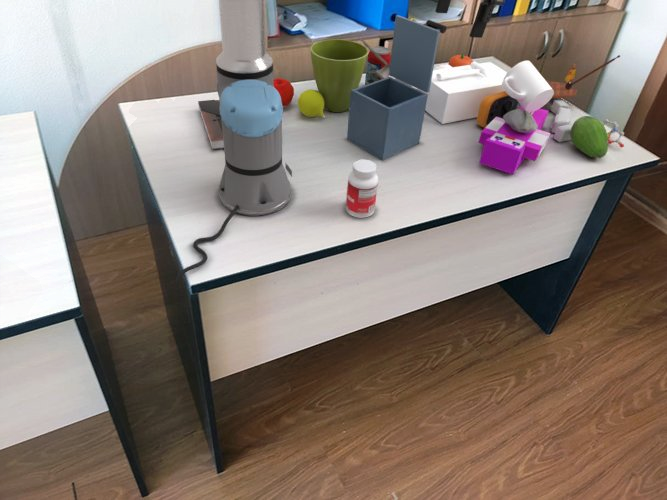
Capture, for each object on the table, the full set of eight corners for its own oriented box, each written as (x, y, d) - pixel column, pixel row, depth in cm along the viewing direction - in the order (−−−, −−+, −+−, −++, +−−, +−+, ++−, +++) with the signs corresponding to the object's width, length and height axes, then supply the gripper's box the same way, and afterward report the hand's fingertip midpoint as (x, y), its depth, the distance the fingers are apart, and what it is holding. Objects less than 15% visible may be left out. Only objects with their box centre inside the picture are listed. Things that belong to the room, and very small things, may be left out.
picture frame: (198, 109, 143) (212, 150, 128) (197, 100, 141) (211, 140, 126) (259, 103, 147) (279, 142, 132) (259, 95, 146) (279, 133, 131)
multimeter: (480, 96, 140) (490, 101, 138) (523, 82, 148) (533, 86, 146) (473, 126, 145) (482, 131, 143) (515, 110, 154) (525, 115, 152)
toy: (562, 114, 142) (533, 155, 121) (554, 135, 146) (525, 178, 125) (509, 99, 147) (473, 136, 126) (503, 119, 151) (467, 158, 130)
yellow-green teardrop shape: (317, 100, 148) (333, 124, 143) (293, 108, 146) (309, 133, 141) (317, 80, 141) (334, 105, 137) (293, 88, 140) (309, 113, 135)
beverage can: (360, 86, 160) (364, 46, 152) (380, 83, 162) (384, 44, 155) (370, 96, 156) (375, 55, 148) (390, 93, 158) (396, 52, 150)
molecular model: (593, 117, 139) (594, 143, 138) (626, 117, 138) (627, 143, 136) (584, 129, 146) (585, 155, 145) (615, 130, 145) (617, 155, 143)
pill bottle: (343, 201, 115) (347, 157, 108) (371, 201, 116) (377, 157, 108) (347, 219, 110) (351, 174, 103) (376, 218, 111) (382, 174, 104)
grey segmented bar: (553, 142, 141) (579, 146, 140) (558, 129, 138) (585, 133, 138) (544, 108, 156) (568, 112, 155) (549, 96, 153) (573, 100, 153)
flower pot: (313, 120, 142) (315, 60, 132) (304, 95, 153) (306, 39, 142) (367, 117, 145) (374, 59, 134) (355, 93, 156) (360, 38, 145)
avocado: (575, 111, 133) (599, 150, 129) (600, 107, 135) (624, 145, 131) (558, 131, 140) (580, 169, 136) (581, 127, 142) (604, 163, 138)
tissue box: (513, 110, 154) (524, 73, 146) (442, 123, 145) (450, 85, 137) (482, 89, 163) (491, 54, 156) (413, 101, 154) (420, 64, 147)
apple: (269, 113, 144) (268, 87, 139) (261, 100, 149) (261, 75, 144) (297, 110, 146) (297, 84, 141) (289, 98, 152) (289, 72, 147)
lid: (437, 31, 117) (461, 23, 122) (395, 15, 124) (419, 8, 129) (427, 92, 127) (449, 83, 131) (388, 75, 134) (411, 66, 138)
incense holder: (506, 79, 172) (511, 43, 166) (607, 87, 163) (617, 49, 157) (499, 94, 155) (506, 54, 149) (612, 104, 146) (623, 61, 140)
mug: (529, 90, 129) (506, 60, 133) (509, 114, 135) (487, 85, 139) (559, 88, 135) (536, 60, 139) (539, 111, 141) (517, 83, 145)
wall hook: (343, 47, 139) (353, 33, 138) (402, 97, 162) (410, 85, 161) (354, 54, 136) (364, 40, 135) (412, 104, 159) (420, 92, 158)
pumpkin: (475, 78, 170) (480, 54, 165) (458, 83, 166) (464, 59, 161) (457, 70, 174) (462, 47, 170) (440, 74, 170) (445, 51, 166)
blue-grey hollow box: (382, 160, 129) (389, 109, 120) (346, 139, 136) (350, 89, 127) (419, 143, 136) (428, 94, 127) (383, 124, 143) (389, 76, 134)
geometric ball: (429, 77, 165) (428, 96, 161) (432, 57, 158) (431, 76, 154) (454, 79, 164) (454, 98, 160) (458, 58, 157) (458, 77, 154)
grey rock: (539, 141, 126) (549, 121, 123) (506, 131, 126) (514, 110, 123) (529, 129, 136) (538, 110, 134) (498, 119, 136) (506, 100, 134)
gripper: (552, -71, 94) (506, 48, 107) (472, -104, 110) (441, 4, 123) (519, -76, 91) (476, 48, 104) (442, -108, 107) (414, 2, 120)
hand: (457, 24), depth 114 cm, fingers open, 13 cm apart
